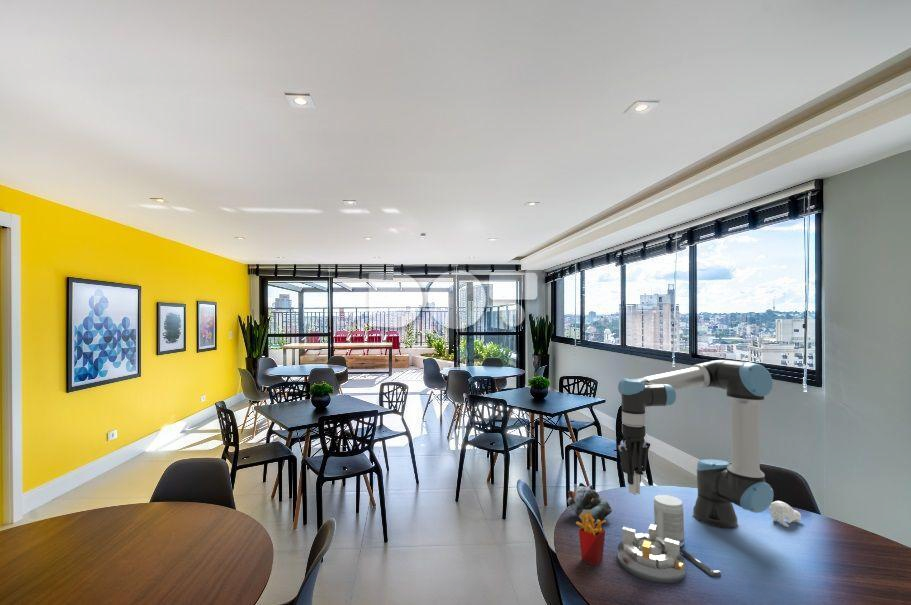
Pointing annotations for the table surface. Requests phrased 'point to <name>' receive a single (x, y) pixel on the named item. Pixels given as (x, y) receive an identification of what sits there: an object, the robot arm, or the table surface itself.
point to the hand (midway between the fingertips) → (634, 492)
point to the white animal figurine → (783, 513)
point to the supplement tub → (669, 518)
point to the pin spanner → (701, 564)
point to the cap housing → (649, 572)
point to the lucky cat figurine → (588, 503)
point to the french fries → (591, 539)
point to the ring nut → (645, 556)
